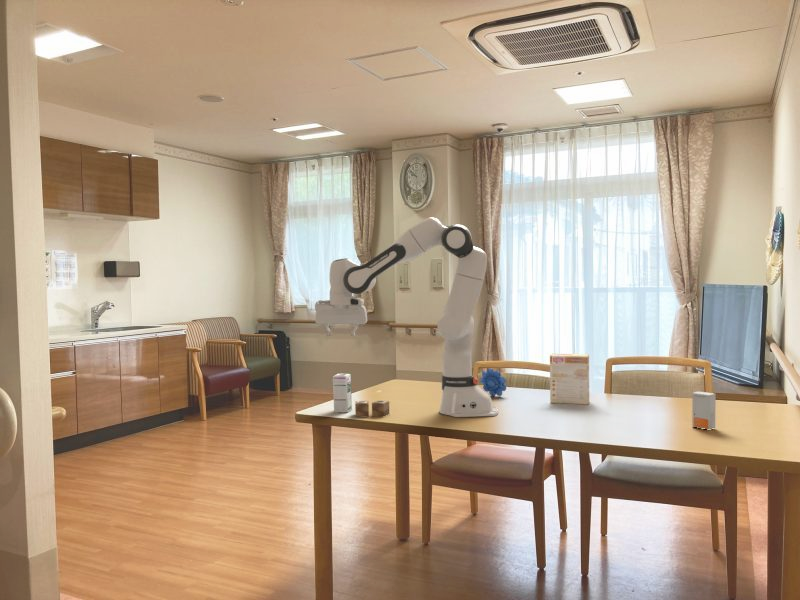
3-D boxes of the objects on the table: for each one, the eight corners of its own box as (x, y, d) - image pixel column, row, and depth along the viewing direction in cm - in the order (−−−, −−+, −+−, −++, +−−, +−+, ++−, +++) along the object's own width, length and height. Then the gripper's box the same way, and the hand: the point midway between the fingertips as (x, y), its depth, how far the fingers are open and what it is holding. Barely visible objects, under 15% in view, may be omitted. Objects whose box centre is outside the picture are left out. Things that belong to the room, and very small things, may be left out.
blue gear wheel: (477, 397, 279) (476, 369, 279) (482, 394, 285) (481, 367, 285) (503, 398, 274) (503, 370, 274) (507, 396, 280) (507, 368, 280)
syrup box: (348, 412, 252) (347, 375, 251) (333, 412, 253) (332, 375, 252) (352, 409, 257) (351, 373, 257) (337, 409, 258) (336, 373, 258)
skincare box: (691, 427, 219) (691, 392, 219) (698, 425, 222) (698, 391, 221) (709, 431, 214) (709, 395, 214) (716, 429, 217) (716, 393, 216)
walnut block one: (368, 413, 250) (368, 400, 249) (368, 416, 245) (368, 402, 244) (355, 414, 249) (355, 400, 249) (355, 417, 244) (355, 403, 244)
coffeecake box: (589, 401, 266) (589, 354, 265) (588, 405, 259) (587, 356, 258) (552, 399, 271) (552, 353, 270) (549, 402, 265) (549, 355, 264)
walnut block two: (389, 414, 249) (389, 400, 248) (384, 416, 244) (384, 402, 244) (377, 413, 250) (377, 399, 250) (372, 416, 246) (371, 402, 246)
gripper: (312, 300, 251) (313, 336, 252) (365, 300, 249) (365, 336, 249) (316, 299, 257) (317, 334, 258) (367, 299, 255) (368, 335, 256)
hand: (341, 335), depth 254 cm, fingers open, 8 cm apart
